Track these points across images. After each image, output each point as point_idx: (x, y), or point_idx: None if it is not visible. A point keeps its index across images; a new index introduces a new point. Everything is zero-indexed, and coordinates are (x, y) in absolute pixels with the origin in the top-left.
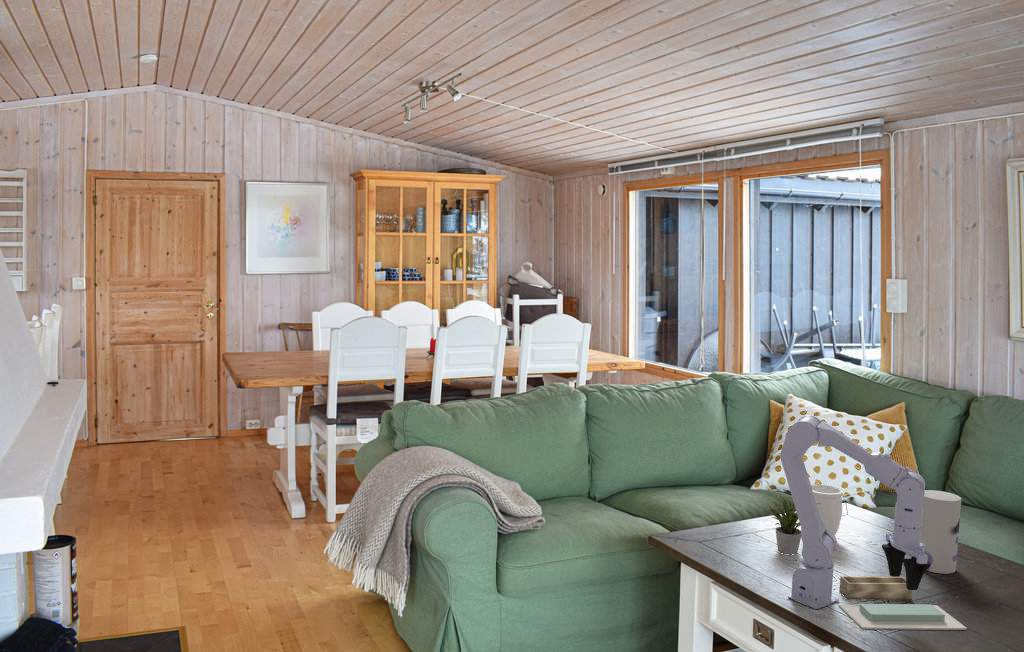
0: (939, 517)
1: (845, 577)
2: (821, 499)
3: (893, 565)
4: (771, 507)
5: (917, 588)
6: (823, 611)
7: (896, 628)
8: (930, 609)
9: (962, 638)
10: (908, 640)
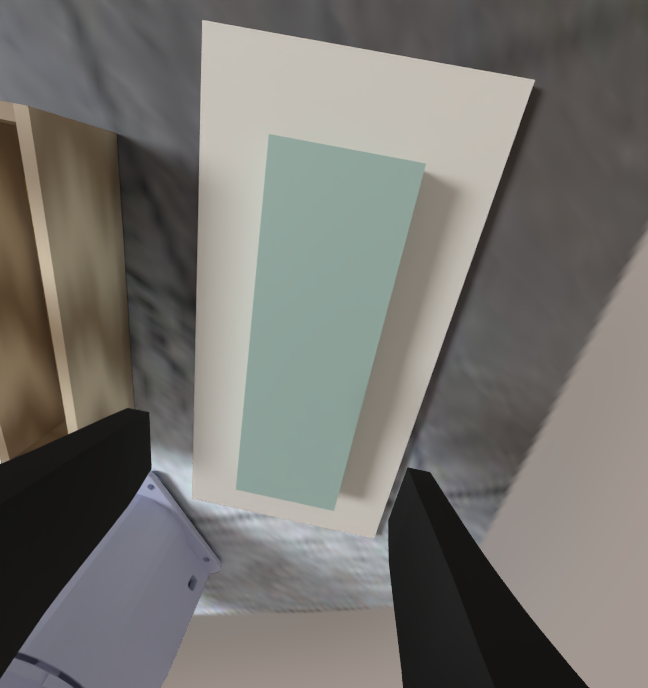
0: None
1: (9, 451)
2: None
3: (70, 541)
4: None
5: (438, 486)
6: (233, 551)
7: (407, 440)
8: (336, 203)
9: (595, 209)
10: (499, 458)
